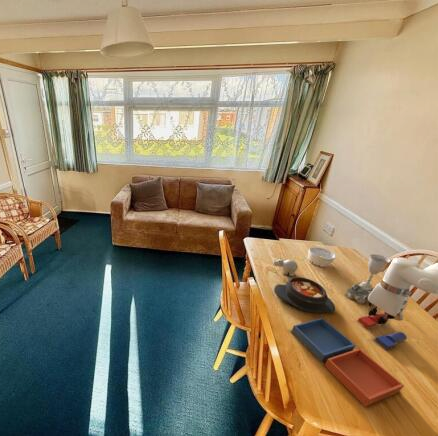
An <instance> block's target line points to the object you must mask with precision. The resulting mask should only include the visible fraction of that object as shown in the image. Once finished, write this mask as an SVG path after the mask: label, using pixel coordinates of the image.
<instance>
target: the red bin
mask: <svg viewBox="0 0 438 436" xmlns="http://www.w3.org/2000/svg"><path fill="white" fill-rule="evenodd" d="M324 367H326V368H327V370H328V371H330V372H331V374H332V375H333V376H334V377H335V378H336V379H337V380H338V381H339V382H340V383H341V384H342V385H344V387H345V388H346V389H347V390H348V391H349V392H350V393H351V394H352V395H353V396H354V397H355V398H356V399H357V400H358V401H359V402H360V403H361V404H362V405H363V406H364V407H367V406H370V405H372V404H375V403H377V402H379V401H382V400H384V399H387V398H389V397H391V396H394V395H396V394H398V393H400V392H401V390H402V389H403V388H404V387H405V385H404V383H402V382H401V381H400V380H398V379H397V378H396V377H395V376H394V375H392V374H391V373H390V372H389V371H388V370H386V369H385V368H384V367H383V366H381V365H380V364H379V363H378V362H377V361H376V360H374V359H373V358H372V357H370V355H368V354H367V353H366V352H365V351H363V350H362V349H361V348H356V349H353V350H352V351H350V352H347V353H344V354H341V355H338V356H335V357H332V358H329V359H328V360H326V361H325V363H324Z"/></svg>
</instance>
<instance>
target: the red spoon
mask: <svg viewBox="0 0 438 436" xmlns="http://www.w3.org/2000/svg"><path fill="white" fill-rule="evenodd" d="M383 316H384V313H383V312H379V313H378V312H377V313H376V314H375V315H371V316H369V315H368V316H367V315H365V316H362V317H361V316H360V317H358V320H357V322H358V323H359V324H361V325H362V326H364V327H365V328H367V329H370V328H373V327H376V326H377V325H378V322H379V320H380V318H381V317H383Z"/></svg>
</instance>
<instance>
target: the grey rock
mask: <svg viewBox="0 0 438 436" xmlns="http://www.w3.org/2000/svg"><path fill="white" fill-rule="evenodd" d="M371 292H372V291H370V290H367V289H364V288H363V287H361V286H360V285H359V284H357V283H354V284H353V285H351V286H350V287H349V288H348V289H347V293H346V297H347V298H348V299H349V300H354V301H356V303H358V304H362V305H363V304H365V302H367V301H366V300H365V299H364V298H365V297H367V296H369V295H370V293H371Z"/></svg>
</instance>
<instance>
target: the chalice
mask: <svg viewBox="0 0 438 436" xmlns="http://www.w3.org/2000/svg"><path fill="white" fill-rule="evenodd" d="M388 263H391V259H390V258H388V257H385V256H383V255H379V254H375V253H373V254H370V259H369V260H368V263H367V268H368V272H369V273H370V274H369V275H368V278H366V281H362V282H360V283H359V284H358V285H359V286H361V287H363V288H364V289H367V291H372V290H373V287H372V284H371V281H372V279H373V278H374V275H377V274H380V273H382V272H383V271H384V270H385V269H386V266H387V265H388Z"/></svg>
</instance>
